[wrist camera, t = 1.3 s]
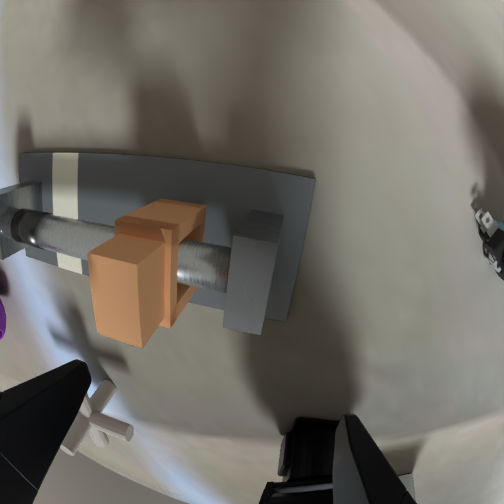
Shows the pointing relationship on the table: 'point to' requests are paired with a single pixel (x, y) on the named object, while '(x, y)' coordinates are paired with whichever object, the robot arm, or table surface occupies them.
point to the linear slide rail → (189, 252)
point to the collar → (143, 270)
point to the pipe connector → (96, 421)
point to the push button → (492, 240)
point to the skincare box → (408, 483)
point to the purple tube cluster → (2, 320)
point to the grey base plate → (179, 189)
